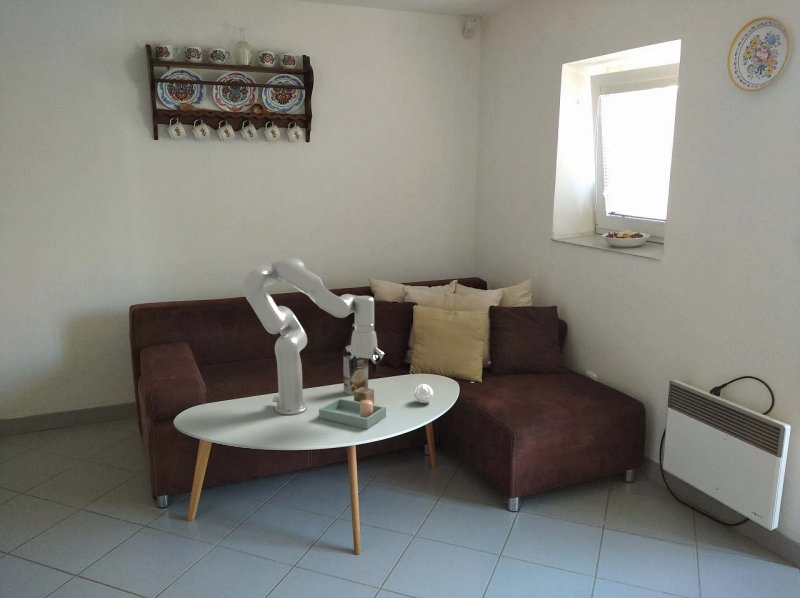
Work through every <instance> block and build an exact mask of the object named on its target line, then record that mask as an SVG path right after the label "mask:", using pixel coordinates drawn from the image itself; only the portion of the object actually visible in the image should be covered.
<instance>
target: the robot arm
mask: <svg viewBox="0 0 800 598" xmlns="http://www.w3.org/2000/svg"><path fill="white" fill-rule="evenodd" d="M281 282H282V283H283V282H284V283H285V284H287V285H290V286H291V287H293V288H294V289H296V290H298V291H299V292H301V293H303V294H304V295H307V296H308V298H310V300H311V301H312V302H313V303H314V304H316V306H317V307H319V309H322V310H323V311H325V312H326V313H328V314H330V315H332V316H333V317H335V318H338V319H339V318H340V319H341V318H342V319H344V318H347V316H349V315H350V314H352V313H354V323H352V328H353V327H354V330H352V335H351V340H350V345H346V346H345V350H346V352H347V356H350V359H351V366H352V369H355V368H357V367H358V359H357V358H356V357H361V358H367V359H368V360H371V361H372V364H371V373H372V374H375V373H377V372H379V362H381V361H382V360H383V357H384V355H385V353H384V351H382V350H381V349H379V348H378V338H377V332H376V331H375V299H374V297H373V296H371V295H355V294H350V293H346V294H342V295H340V296H338V295H337V294H334V293H333V292H332V291H330V290H329V289H328V288H326V287H325V285H324V284H323V281H322V278H321V276H318V275H317V274H315V273H314V272H312V271H310V270H308V269H306V266H305V263H304V262H303V261H302V260H301V259H299V258H297V257H290V258H286V259H282V260H277V261H273V262H268V263H264V264H262V265H260V266H256V267H254V268H252V269H250V270H249V271H248V272H247V274H246V275H245V277H244V279H243V282H242V291H243V295H244V296H245V298H246V301H247V302H248V303H249V304H250V306H251V307H252V309H253V310H254V313H255V314H256V316H257V318H258V319H259V321H260V322H261V324H262V326H263V327H264V329H265V330H266V331H267V333H269V334H272V335H277V334H279V333H280V336H279V337H278V338H277V340H276V341H275V345H274V354H275V358H276V367H277V368H276V369H277V385H278V387H277V388H278V389H277V390H278V395H274V396H273V399H272V402H273V403H276V406H275V412H276V413H278V414H281V415H289V416H290V415H298V414H302V413H304V412H305V411H307V409H308V405H307V403H305V402H304V397H303V396H304V393H303V370H302V369H303V368H302V367H303V365H302V361H301V356H300V352H301V351H302V350H303V349H305V348H306V346H307V344H308V337H307V333H306V331H305V329H304V328H303V326H302V325H301V323H300V321H299V320H298V318H297V316H296V315H295V313H294V312H293V311H292V309H290V308H289V307H287V306H284V305H279V306H278V305H277V304H276V303H275V302H276V301H275V300H274V299H273V297H272V296H271V295H270V294H269V293H268V292H267V291H266V287H269V286H271V285H274V284H277V283H281Z"/></svg>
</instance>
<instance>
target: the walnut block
mask: <svg viewBox="0 0 800 598" xmlns="http://www.w3.org/2000/svg"><path fill="white" fill-rule="evenodd" d="M362 400H371V401H373V404H375V389H373V388H369V387H368V388H364V387H361V388H359V389H357V390H356V391H354V395H353V401H357V402H360V401H362Z"/></svg>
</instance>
